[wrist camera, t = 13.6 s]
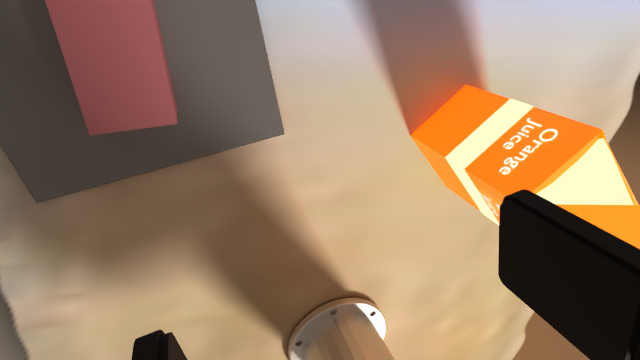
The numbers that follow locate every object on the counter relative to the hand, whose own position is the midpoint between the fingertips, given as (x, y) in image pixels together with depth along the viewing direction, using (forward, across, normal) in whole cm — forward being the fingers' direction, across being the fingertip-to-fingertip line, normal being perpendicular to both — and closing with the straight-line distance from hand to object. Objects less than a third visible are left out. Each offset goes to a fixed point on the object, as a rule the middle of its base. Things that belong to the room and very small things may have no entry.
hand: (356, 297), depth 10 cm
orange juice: (+26, -21, +10) cm, 35 cm away
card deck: (+24, +7, -6) cm, 26 cm away
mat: (+25, +7, -6) cm, 26 cm away
